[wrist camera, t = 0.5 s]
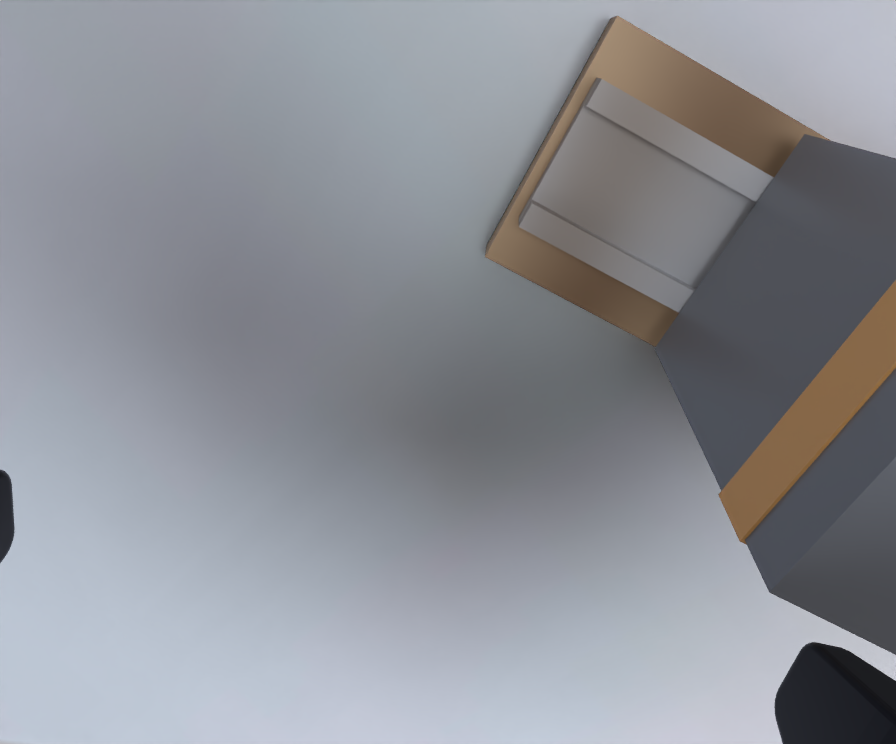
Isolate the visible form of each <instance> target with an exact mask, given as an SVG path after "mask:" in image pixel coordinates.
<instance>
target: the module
mask: <svg viewBox="0 0 896 744" xmlns="http://www.w3.org/2000/svg"><path fill="white" fill-rule="evenodd" d="M655 351H656V353H657V355H658V357H659V359H660V361H661V364H662V366H663V368H664V370H665V372H666V374H667V376H668V378H669V381H670V383H671V385H672V387H673V389H674V391H675V393H676V395H677V397H678V400H679V402H680V404H681V406H682V408H683V410H684V412H685V414H686V417H687V419H688V421H689V423H690V425H691V427H692V429H693V431H694V434H695V436H696V438H697V440H698V442H699V444H700V446H701V448H702V450H703V453H704V455H705V457H706V459H707V461H708V463H709V465H710V467H711V470H712V472H713V474H714V476H715V478H716V480H717V482H718V484H719V486H720V489H721V492H720V493H719V497H720V499H721V501H722V504H723V506H724V508H725V510H726V512H727V514H728V517H729V519H730V521H731V523H732V525H733V527H734V530H735V532H736V534H737V536H738V538H739V541H740V542H742V543H744V544H746V545H747V546H748V548H749V550H750V552H751V554H752V556H753V559H754V561H755V563H756V565H757V567H758V569H759V571H760V573H761V575H762V578H763V580H764V582H765V584H766V586H767V588H768V590H769V592H770V593H772V594H774V595H776V596H778V597H780V598H782V599H784V600H786V601H788V602H790V603H792V604H794V605H796V606H798V607H800V608H802V609H804V610H806V611H808V612H810V613H812V614H814V615H816V616H818V617H820V618H822V619H825V620H827V621H829V622H831V623H833V624H835V625H837V626H839V627H841V628H843V629H845V630H847V631H849V632H851V633H853V634H855V635H857V636H859V637H861V638H863V639H865V640H867V641H869V642H871V643H873V644H875V645H877V646H879V647H881V648H883V649H885V650H887V651H889V652H891V653H893V654H895V655H896V159H895V158H891V157H888V156H884V155H880V154H877V153H873V152H869V151H866V150H862V149H858V148H855V147H851V146H847V145H844V144H840V143H836V142H833V141H829V140H825V139H822V138H818V137H814V136H810V135H807V134H804V136H803V137H802V138H801V140H800V141H799V143H798V144H797V146H796V147H795V148H794V150H793V151H792V153H791V154H790V156H789V157H788V158H787V160H786V161H785V163H784V164H783V166H782V167H781V168H780V170H779V171H778V173H777V174H776V176H775V177H774V178H773V180H772V181H771V183H770V184H769V186H768V187H767V188H766V190H765V191H764V193H763V194H762V196H761V197H760V198H759V200H758V201H757V203H756V204H755V206H754V207H753V208H752V210H751V211H750V213H749V214H748V216H747V217H746V218H745V220H744V221H743V223H742V224H741V226H740V227H739V229H738V230H737V231H736V233H735V234H734V236H733V237H732V239H731V240H730V241H729V243H728V244H727V246H726V247H725V249H724V250H723V251H722V253H721V254H720V256H719V257H718V259H717V260H716V261H715V263H714V264H713V266H712V267H711V269H710V270H709V271H708V273H707V274H706V276H705V277H704V279H703V280H702V281H701V283H700V284H699V286H698V287H697V289H696V290H695V291H694V293H693V294H692V296H691V297H690V299H689V300H688V301H687V303H686V304H685V306H684V307H683V309H682V310H681V311H680V313H679V314H678V316H677V317H676V319H675V320H674V321H673V323H672V324H671V326H670V327H669V329H668V330H667V331H666V333H665V334H664V336H663V337H662V339H661V340H660V341H659V343H658V344H657V346H656V347H655Z"/></svg>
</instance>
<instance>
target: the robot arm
mask: <svg viewBox="0 0 896 744" xmlns="http://www.w3.org/2000/svg"><path fill="white" fill-rule="evenodd" d="M13 537H14V513H13V497H12V484H11V479H10V477H9V475H8V474H7V473H6V472H5V471H3V470H0V563H1V562H2V560H3V559H4V557H5V556H6V554H7V553H8V551H9V549H10V547H11V544H12V541H13ZM775 716H776V721H777V725H778V728H779V732H780V735H781V739H782V742H783V744H896V681H895V680H893V679H892V678H890V677H888V676H887V675H885V674H884V673H882V672H881V671H879V670H878V669H876V668H875V667H873V666H871V665H870V664H868V663H867V662H865V661H864V660H862V659H861V658H859V657H857V656H856V655H854V654H853V653H851V652H850V651H847V650H845V649H843V648H840V647H835V646H830V645H826V644H821V643H816V642H812V643H808V644H806V645H805V646H804V647H803V648H802V649H801V651H800V652H799V654H798V656H797V657H796V659H795V661H794V663H793V664H792V666H791V668H790V670H789V671H788V673H787V675H786V677H785V678H784V680H783V682H782V684H781V685H780V687H779V689H778V691H777V694H776V698H775Z"/></svg>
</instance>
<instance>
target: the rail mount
mask: <svg viewBox="0 0 896 744" xmlns="http://www.w3.org/2000/svg"><path fill="white" fill-rule="evenodd" d="M804 134H807V135H810V136H814V137H818V138H822V139H825V140H829V139H827V138H825V137H824V136H822V135H820V134H819V133H817V132H815V131H813V130H812V129H810V128H808V127H807V126H805V125H803V124H801V123H800V122H798V121H796V120H795V119H793V118H791V117H790V116H788V115H786V114H784V113H783V112H781V111H779V110H778V109H776V108H774V107H772V106H771V105H769V104H767V103H766V102H764V101H762V100H761V99H759V98H757V97H755V96H754V95H752V94H750V93H749V92H747V91H745V90H743V89H742V88H740V87H738V86H737V85H735V84H733V83H732V82H730V81H728V80H726V79H725V78H723V77H721V76H720V75H718V74H716V73H714V72H713V71H711V70H709V69H708V68H706V67H704V66H703V65H701V64H699V63H697V62H696V61H694V60H692V59H691V58H689V57H687V56H685V55H684V54H682V53H680V52H679V51H677V50H675V49H673V48H672V47H670V46H668V45H667V44H665V43H663V42H662V41H660V40H658V39H656V38H655V37H653V36H651V35H650V34H648V33H646V32H644V31H643V30H641V29H639V28H638V27H636V26H634V25H633V24H631V23H629V22H627V21H626V20H624V19H622V18H621V17H619V16H616V17H613V18H611V19H610V21H609V23H608V24H607V26H606V28H605V30H604V32H603V34H602V35H601V37H600V39H599V41H598V43H597V45H596V46H595V48H594V50H593V52H592V54H591V55H590V57H589V59H588V61H587V63H586V65H585V66H584V68H583V70H582V72H581V74H580V76H579V77H578V79H577V81H576V83H575V85H574V87H573V88H572V90H571V92H570V94H569V96H568V98H567V99H566V101H565V103H564V105H563V107H562V109H561V110H560V112H559V114H558V116H557V118H556V119H555V121H554V123H553V125H552V127H551V129H550V130H549V132H548V134H547V136H546V138H545V140H544V141H543V143H542V145H541V147H540V149H539V151H538V152H537V154H536V156H535V158H534V160H533V162H532V163H531V165H530V167H529V169H528V171H527V173H526V174H525V176H524V178H523V180H522V182H521V183H520V185H519V187H518V189H517V191H516V193H515V194H514V196H513V198H512V200H511V202H510V204H509V205H508V207H507V209H506V211H505V213H504V215H503V216H502V218H501V220H500V222H499V224H498V226H497V227H496V229H495V231H494V233H493V235H492V237H491V238H490V240H489V242H488V244H487V247H486V254H485V257H486V258H488V259H490V260H492V261H494V262H496V263H498V264H500V265H501V266H503V267H505V268H507V269H509V270H511V271H513V272H515V273H517V274H518V275H520V276H522V277H524V278H526V279H528V280H530V281H532V282H534V283H536V284H537V285H539V286H541V287H543V288H545V289H547V290H549V291H551V292H553V293H554V294H556V295H558V296H560V297H562V298H564V299H566V300H568V301H570V302H571V303H573V304H575V305H577V306H579V307H581V308H583V309H585V310H587V311H588V312H590V313H592V314H594V315H596V316H598V317H600V318H602V319H604V320H606V321H607V322H609V323H611V324H613V325H615V326H617V327H619V328H621V329H623V330H624V331H626V332H628V333H630V334H632V335H634V336H636V337H638V338H640V339H641V340H643V341H645V342H647V343H649V344H651V345H653V346H655V347H656V346H657V344H658V343H659V341H660V340H661V339H662V337H663V336H664V334H665V333H666V331H667V330H668V329H669V327H670V326H671V324H672V323H673V321H674V320H675V319H676V317H677V316H678V314H679V313H680V311H681V310H682V309H683V307H684V306H685V304H686V303H687V301H688V300H689V299H690V297H691V296H692V294H693V293H694V291H695V290H696V289H697V287H698V286H699V284H700V283H701V281H702V280H703V279H704V277H705V276H706V274H707V273H708V271H709V270H710V269H711V267H712V266H713V264H714V263H715V261H716V260H717V259H718V257H719V256H720V254H721V253H722V251H723V250H724V249H725V247H726V246H727V244H728V243H729V241H730V240H731V239H732V237H733V236H734V234H735V233H736V231H737V230H738V229H739V227H740V226H741V224H742V223H743V221H744V220H745V218H746V217H747V216H748V214H749V213H750V211H751V210H752V208H753V207H754V206H755V204H756V203H757V201H758V200H759V198H760V197H761V196H762V194H763V193H764V191H765V190H766V188H767V187H768V186H769V184H770V183H771V181H772V180H773V178H774V177H775V176H776V174H777V173H778V171H779V170H780V168H781V167H782V166H783V164H784V163H785V161H786V160H787V158H788V157H789V156H790V154H791V153H792V151H793V150H794V148H795V147H796V146H797V144H798V143H799V141H800V140H801V138H802V137H803V136H804ZM829 141H830V140H829Z"/></svg>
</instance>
